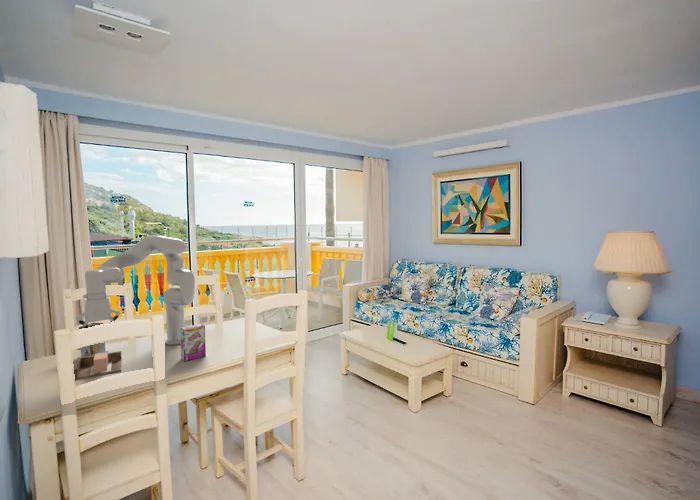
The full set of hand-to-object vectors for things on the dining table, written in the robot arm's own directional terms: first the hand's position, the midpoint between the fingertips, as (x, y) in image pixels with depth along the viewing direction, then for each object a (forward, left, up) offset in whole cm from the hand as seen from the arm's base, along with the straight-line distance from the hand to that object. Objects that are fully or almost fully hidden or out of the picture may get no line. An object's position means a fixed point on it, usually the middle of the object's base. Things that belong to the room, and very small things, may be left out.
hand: (100, 331), depth 176 cm
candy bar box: (-40, +6, -19) cm, 44 cm away
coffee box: (+5, -26, -19) cm, 32 cm away
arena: (+1, -1, -18) cm, 18 cm away
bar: (0, 0, -17) cm, 17 cm away
